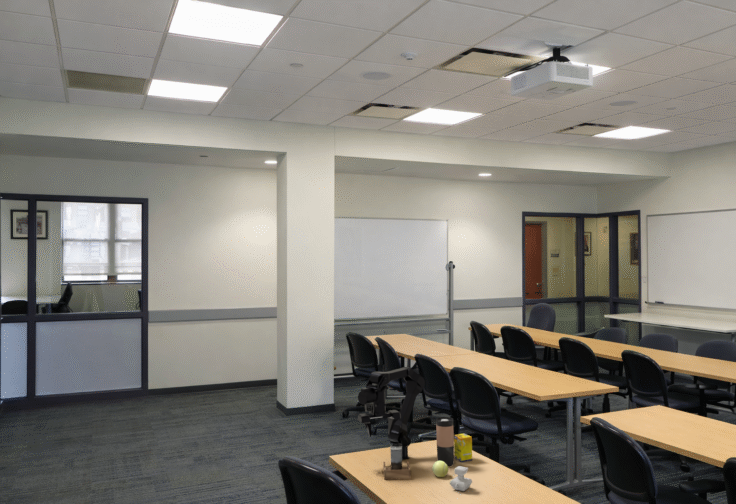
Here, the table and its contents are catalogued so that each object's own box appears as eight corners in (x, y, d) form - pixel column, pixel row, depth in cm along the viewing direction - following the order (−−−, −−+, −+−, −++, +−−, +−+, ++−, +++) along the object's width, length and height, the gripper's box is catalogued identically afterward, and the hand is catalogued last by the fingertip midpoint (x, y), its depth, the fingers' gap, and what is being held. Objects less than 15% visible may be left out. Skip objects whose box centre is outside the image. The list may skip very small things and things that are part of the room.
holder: (383, 470, 258) (383, 461, 258) (408, 469, 258) (408, 461, 258) (384, 479, 247) (384, 470, 247) (410, 478, 247) (410, 470, 247)
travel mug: (454, 461, 267) (453, 416, 268) (454, 467, 260) (453, 421, 260) (436, 461, 268) (435, 416, 269) (437, 467, 261) (436, 421, 261)
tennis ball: (448, 458, 252) (433, 457, 254) (446, 466, 245) (430, 464, 247) (449, 472, 253) (433, 471, 254) (447, 480, 246) (431, 479, 248)
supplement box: (454, 458, 271) (453, 434, 271) (465, 456, 273) (464, 433, 274) (461, 462, 265) (460, 438, 266) (472, 460, 268) (471, 436, 268)
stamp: (458, 483, 241) (458, 463, 241) (473, 487, 237) (473, 466, 237) (448, 491, 233) (447, 469, 233) (463, 494, 229) (463, 472, 230)
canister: (401, 469, 256) (400, 444, 256) (403, 472, 251) (403, 447, 251) (389, 470, 255) (389, 445, 255) (392, 473, 250) (391, 448, 250)
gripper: (391, 394, 276) (391, 428, 276) (353, 398, 270) (354, 433, 269) (400, 399, 266) (401, 434, 265) (361, 404, 259) (362, 440, 259)
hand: (379, 435), depth 265 cm, fingers open, 9 cm apart
